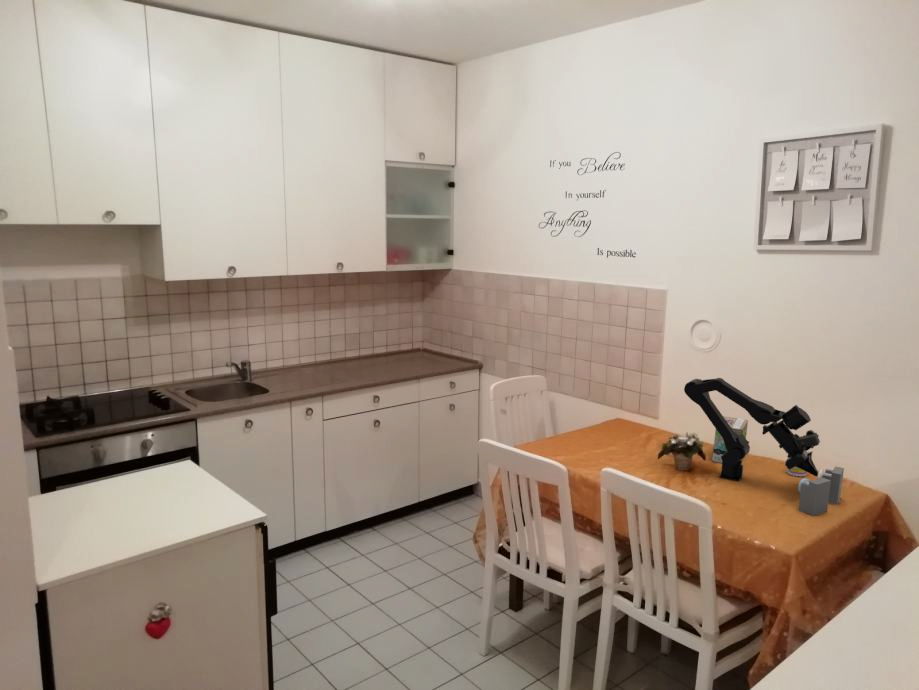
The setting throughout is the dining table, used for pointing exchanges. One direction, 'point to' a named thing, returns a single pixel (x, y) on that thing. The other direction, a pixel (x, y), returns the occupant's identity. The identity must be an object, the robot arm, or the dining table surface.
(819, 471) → the button ivory
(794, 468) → the supplement bottle
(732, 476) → the robot arm
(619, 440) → the dining table surface
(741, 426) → the tea box
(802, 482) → the button blue
